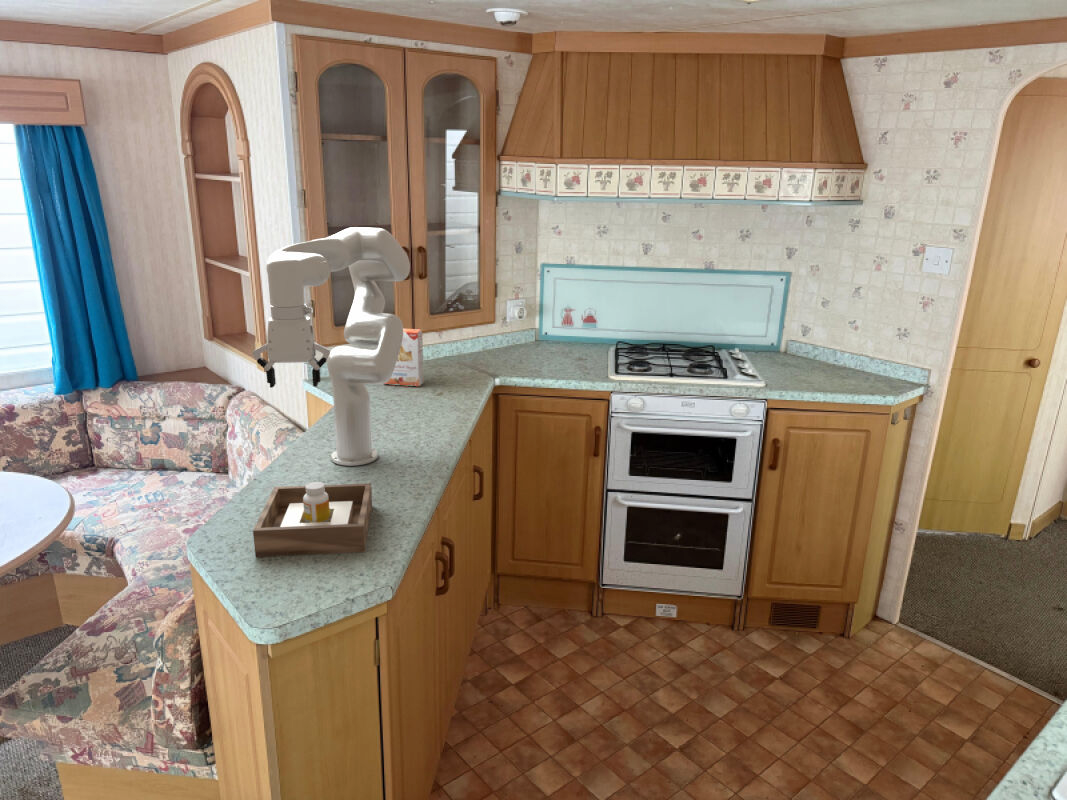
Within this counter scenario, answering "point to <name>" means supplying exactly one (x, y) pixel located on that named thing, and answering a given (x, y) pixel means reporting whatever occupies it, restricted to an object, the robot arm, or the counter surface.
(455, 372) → the counter surface
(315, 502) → the supplement bottle
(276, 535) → the open box
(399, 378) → the cracker box
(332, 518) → the socket plate
